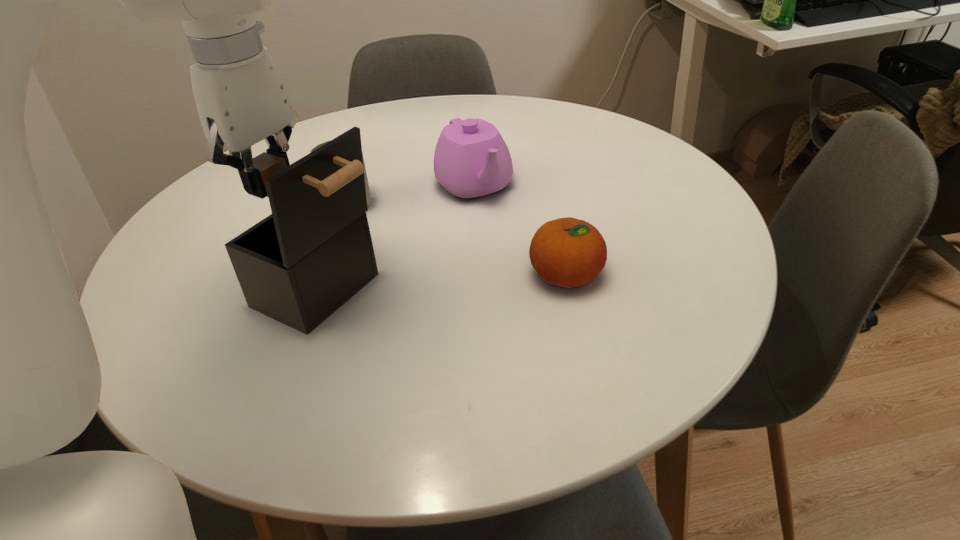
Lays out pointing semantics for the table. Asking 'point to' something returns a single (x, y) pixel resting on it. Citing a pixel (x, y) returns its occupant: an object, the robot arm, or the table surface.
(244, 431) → the table surface
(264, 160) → the block
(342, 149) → the box lid
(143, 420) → the table surface
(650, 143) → the table surface
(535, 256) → the fruit
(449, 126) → the teapot
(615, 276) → the table surface
